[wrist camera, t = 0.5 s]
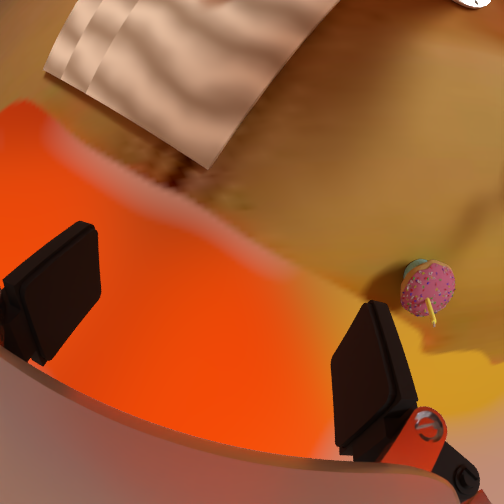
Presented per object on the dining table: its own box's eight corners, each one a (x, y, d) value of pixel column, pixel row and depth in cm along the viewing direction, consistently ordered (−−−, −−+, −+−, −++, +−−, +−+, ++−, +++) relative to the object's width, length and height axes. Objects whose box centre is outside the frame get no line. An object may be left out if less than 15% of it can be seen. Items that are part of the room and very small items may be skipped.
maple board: (153, -85, 16) (149, -89, 15) (352, -12, 22) (354, -17, 21) (49, 69, 30) (42, 69, 28) (211, 167, 35) (207, 169, 34)
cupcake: (388, 297, 41) (409, 354, 30) (395, 247, 37) (426, 299, 27) (436, 293, 40) (465, 345, 29) (446, 245, 36) (485, 292, 25)
